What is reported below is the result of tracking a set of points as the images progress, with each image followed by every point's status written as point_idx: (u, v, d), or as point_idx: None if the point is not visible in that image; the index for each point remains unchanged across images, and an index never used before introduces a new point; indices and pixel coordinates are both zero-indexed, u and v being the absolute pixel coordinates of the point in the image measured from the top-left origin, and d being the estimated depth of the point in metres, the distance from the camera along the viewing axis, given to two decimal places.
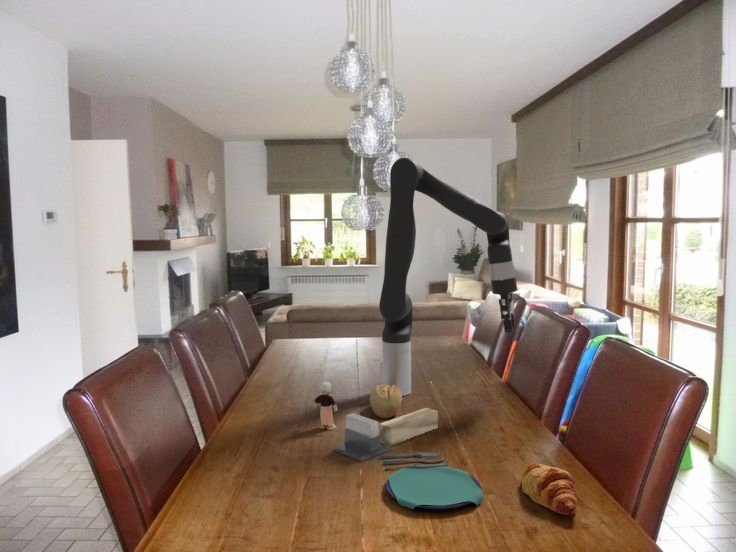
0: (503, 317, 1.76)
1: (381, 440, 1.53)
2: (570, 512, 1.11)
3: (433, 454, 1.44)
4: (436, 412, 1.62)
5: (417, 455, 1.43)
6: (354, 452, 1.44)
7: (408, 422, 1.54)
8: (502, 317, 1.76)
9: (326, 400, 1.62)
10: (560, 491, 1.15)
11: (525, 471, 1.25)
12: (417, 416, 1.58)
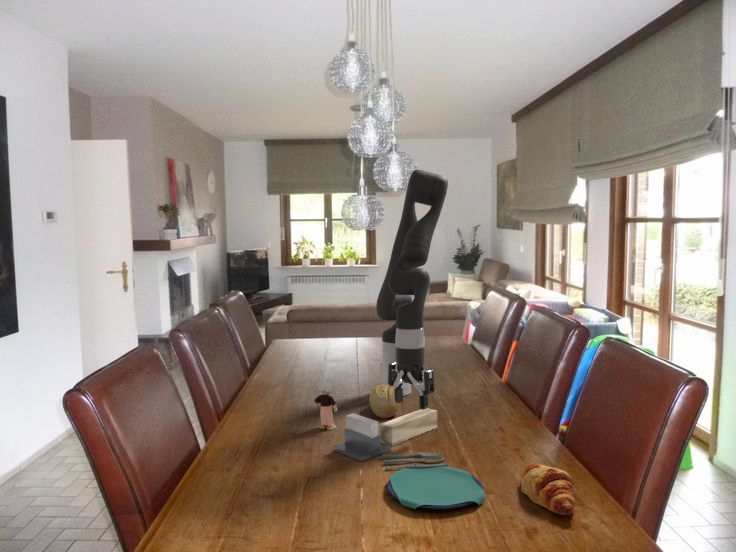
0: None
1: (382, 440, 1.52)
2: (567, 512, 1.11)
3: (433, 454, 1.44)
4: (436, 412, 1.62)
5: (417, 455, 1.43)
6: (354, 452, 1.44)
7: (408, 422, 1.54)
8: None
9: (326, 400, 1.62)
10: (558, 491, 1.15)
11: (524, 471, 1.25)
12: (417, 416, 1.58)
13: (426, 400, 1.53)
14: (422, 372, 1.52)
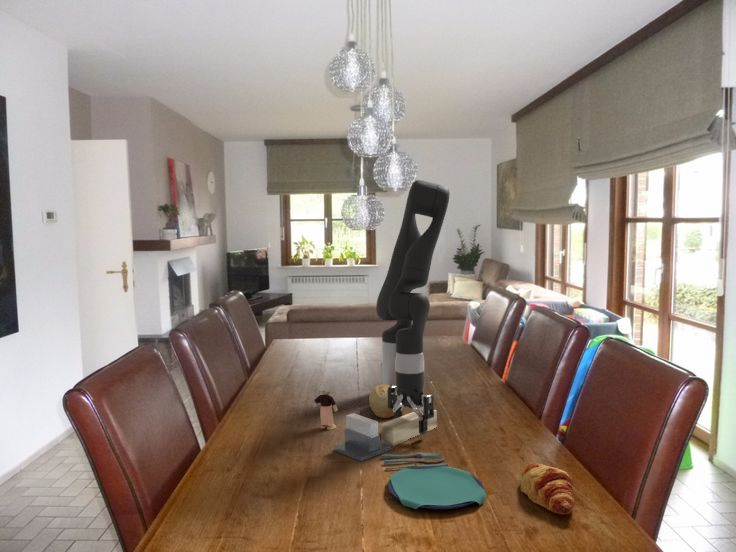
0: None
1: (382, 441, 1.52)
2: (566, 512, 1.11)
3: (433, 454, 1.44)
4: (435, 412, 1.62)
5: (417, 455, 1.43)
6: (354, 452, 1.44)
7: (409, 422, 1.54)
8: None
9: (326, 400, 1.62)
10: (557, 491, 1.15)
11: (524, 470, 1.25)
12: (417, 416, 1.58)
13: (425, 424, 1.53)
14: (421, 397, 1.53)
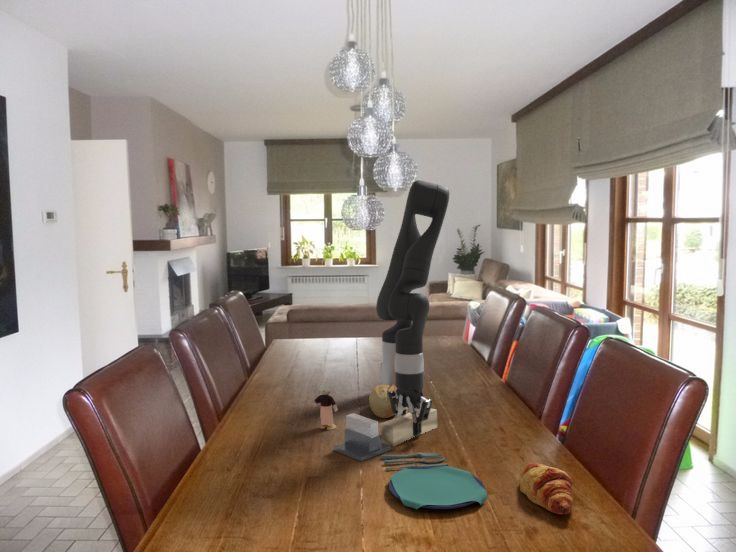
0: None
1: (382, 440, 1.52)
2: (564, 512, 1.11)
3: (433, 454, 1.44)
4: (435, 411, 1.62)
5: (417, 455, 1.43)
6: (354, 452, 1.44)
7: (409, 421, 1.54)
8: None
9: (326, 400, 1.62)
10: (556, 491, 1.15)
11: (524, 470, 1.25)
12: None
13: (419, 427, 1.55)
14: (421, 399, 1.53)
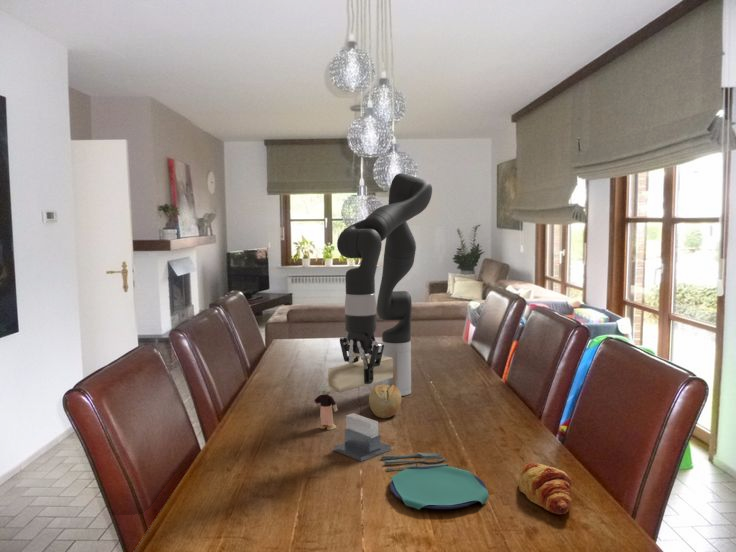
0: None
1: (329, 387, 1.41)
2: (562, 512, 1.11)
3: (433, 454, 1.44)
4: (391, 359, 1.50)
5: (418, 455, 1.43)
6: (354, 452, 1.44)
7: (359, 367, 1.42)
8: None
9: (326, 400, 1.62)
10: (554, 491, 1.15)
11: (523, 470, 1.26)
12: None
13: (371, 374, 1.43)
14: (372, 343, 1.41)
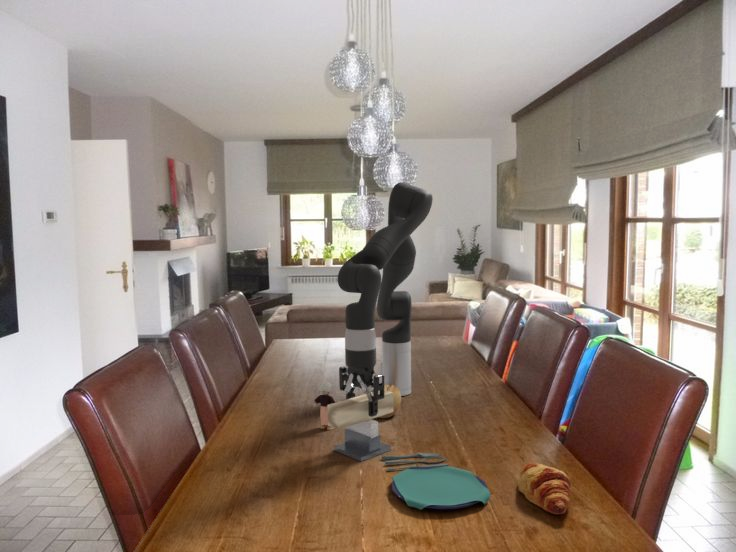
0: None
1: (329, 422, 1.42)
2: (560, 512, 1.11)
3: (434, 454, 1.44)
4: (391, 394, 1.51)
5: (418, 456, 1.43)
6: (354, 452, 1.44)
7: (358, 403, 1.43)
8: None
9: (326, 400, 1.62)
10: (552, 491, 1.15)
11: (523, 470, 1.26)
12: None
13: (375, 406, 1.43)
14: (372, 376, 1.42)
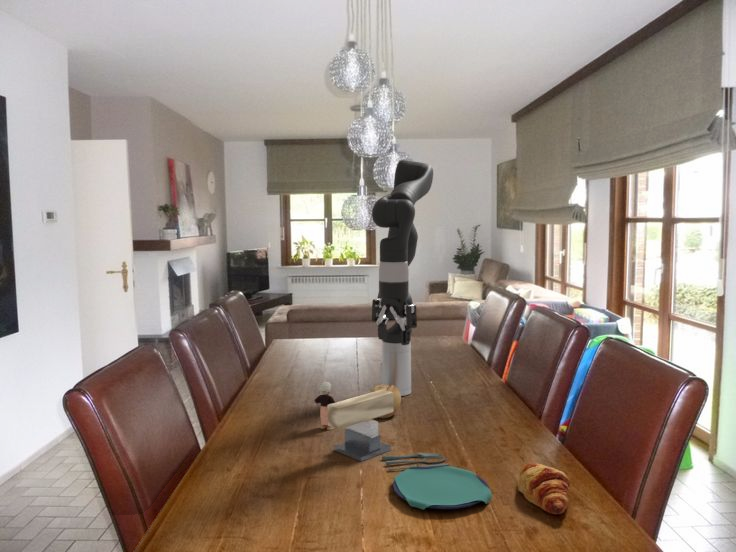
0: None
1: (329, 422, 1.42)
2: (558, 512, 1.12)
3: (434, 454, 1.44)
4: (391, 394, 1.51)
5: (418, 456, 1.43)
6: (354, 452, 1.44)
7: (358, 403, 1.43)
8: None
9: (326, 400, 1.62)
10: (551, 491, 1.15)
11: (522, 470, 1.26)
12: (369, 397, 1.47)
13: (408, 335, 1.49)
14: (404, 306, 1.49)
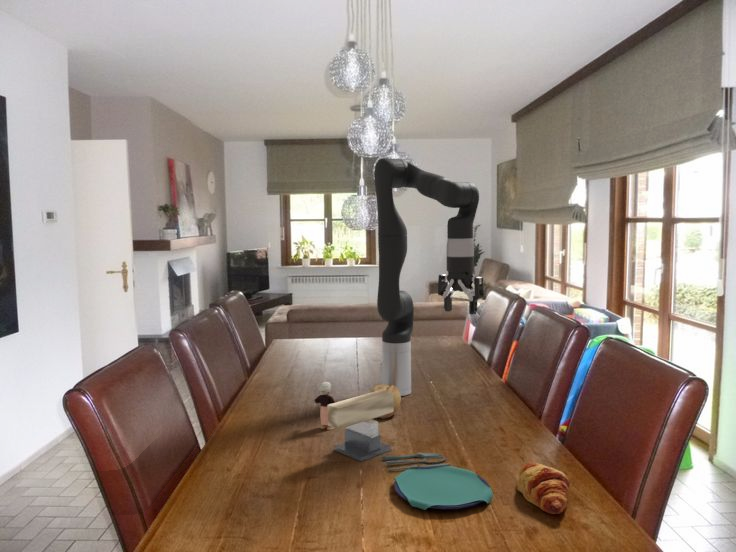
0: None
1: (329, 422, 1.42)
2: (556, 511, 1.12)
3: (434, 454, 1.44)
4: (391, 394, 1.51)
5: (418, 456, 1.43)
6: (354, 452, 1.44)
7: (358, 403, 1.43)
8: None
9: (326, 400, 1.62)
10: (550, 491, 1.15)
11: (522, 469, 1.26)
12: (369, 397, 1.47)
13: (475, 305, 1.64)
14: (472, 279, 1.63)
